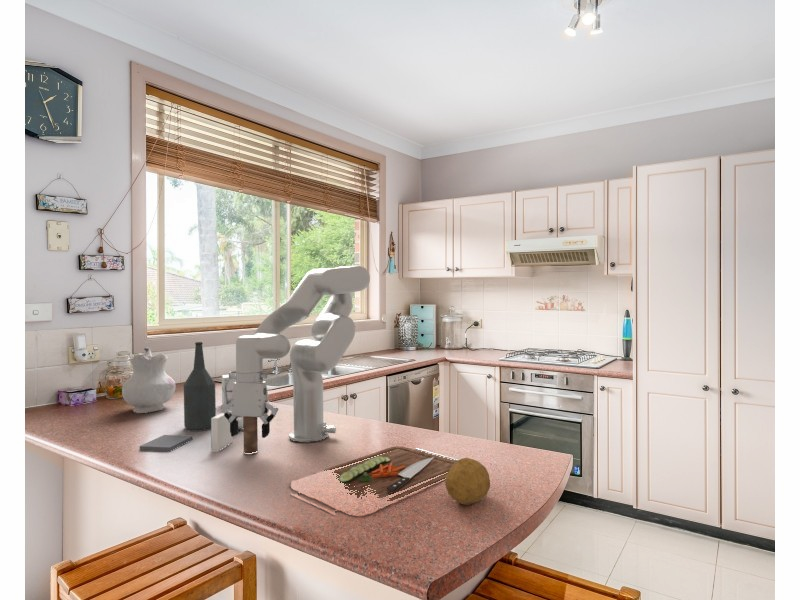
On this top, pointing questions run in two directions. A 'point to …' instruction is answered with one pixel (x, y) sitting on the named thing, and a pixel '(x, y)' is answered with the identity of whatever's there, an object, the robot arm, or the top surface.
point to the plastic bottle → (229, 395)
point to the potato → (467, 481)
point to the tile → (220, 432)
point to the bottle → (199, 395)
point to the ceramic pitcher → (148, 383)
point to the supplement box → (224, 381)
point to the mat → (166, 443)
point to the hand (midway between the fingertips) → (249, 435)
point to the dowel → (250, 434)
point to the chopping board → (393, 471)
